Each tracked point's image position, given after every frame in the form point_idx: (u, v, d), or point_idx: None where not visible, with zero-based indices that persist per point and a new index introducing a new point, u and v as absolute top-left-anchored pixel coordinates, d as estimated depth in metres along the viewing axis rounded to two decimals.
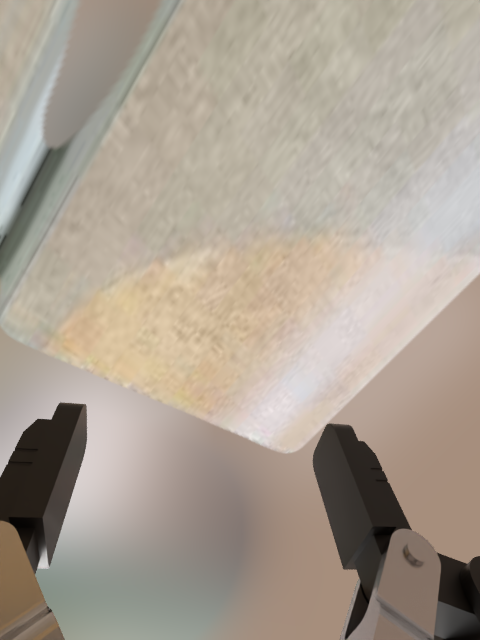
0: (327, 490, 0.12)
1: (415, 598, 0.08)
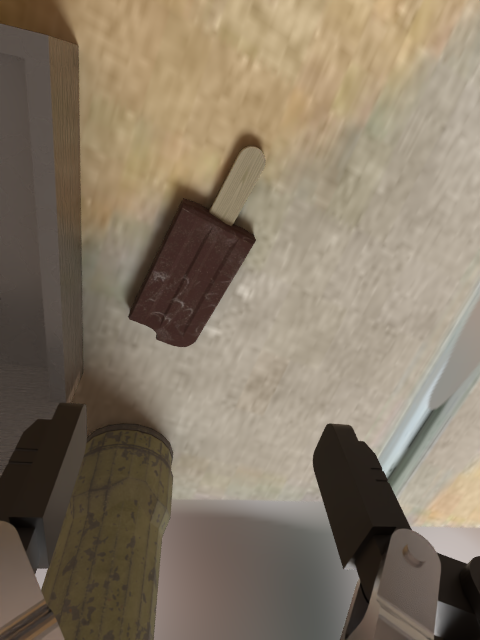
0: (327, 490, 0.12)
1: (415, 598, 0.08)
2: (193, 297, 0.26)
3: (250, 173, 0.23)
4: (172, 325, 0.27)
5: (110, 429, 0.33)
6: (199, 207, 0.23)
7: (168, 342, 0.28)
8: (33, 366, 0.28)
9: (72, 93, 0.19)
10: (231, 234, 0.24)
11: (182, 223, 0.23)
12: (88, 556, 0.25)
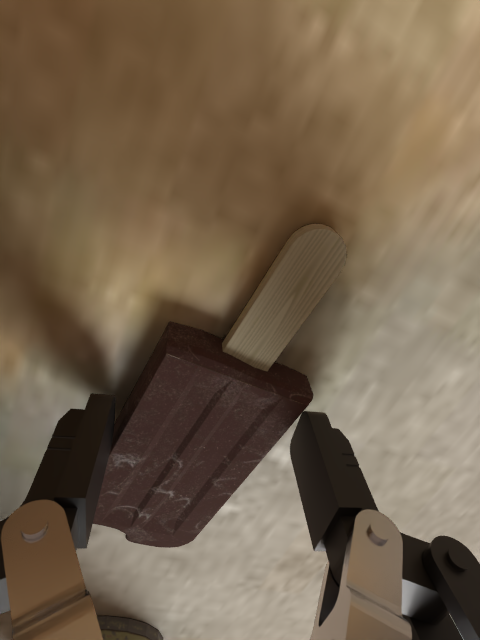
0: (301, 476, 0.12)
1: (381, 577, 0.08)
2: (191, 483, 0.14)
3: (311, 279, 0.11)
4: (153, 521, 0.15)
5: None
6: (202, 343, 0.11)
7: (147, 543, 0.16)
8: None
9: None
10: (267, 391, 0.12)
11: (167, 378, 0.11)
12: None
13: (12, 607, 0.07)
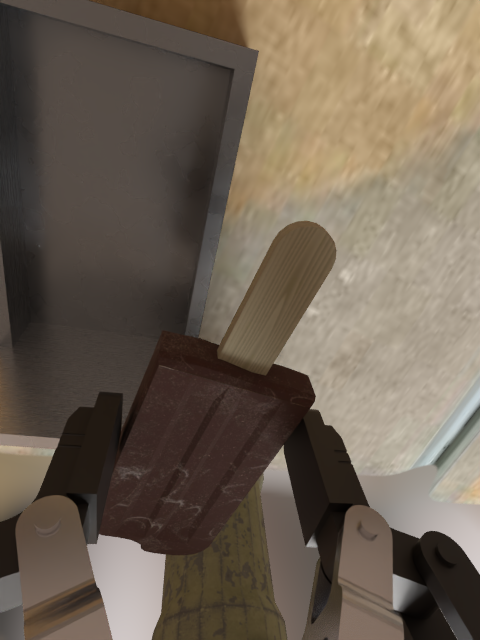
0: (294, 472, 0.12)
1: (373, 572, 0.08)
2: (200, 491, 0.14)
3: (301, 279, 0.10)
4: (167, 530, 0.15)
5: None
6: (196, 351, 0.11)
7: (163, 552, 0.16)
8: (154, 337, 0.32)
9: None
10: (266, 395, 0.12)
11: (162, 389, 0.11)
12: None
13: (24, 599, 0.07)
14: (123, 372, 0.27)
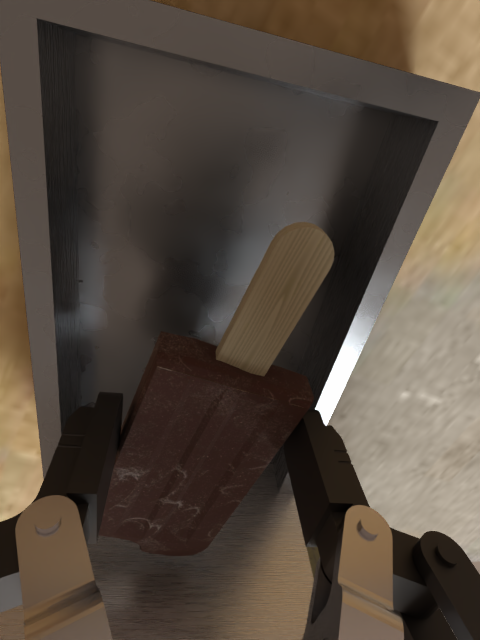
0: (294, 472, 0.12)
1: (373, 572, 0.08)
2: (198, 492, 0.14)
3: (299, 280, 0.10)
4: (165, 531, 0.15)
5: None
6: (194, 353, 0.11)
7: (161, 553, 0.16)
8: None
9: None
10: (264, 397, 0.12)
11: (161, 390, 0.11)
12: None
13: (25, 599, 0.07)
14: None
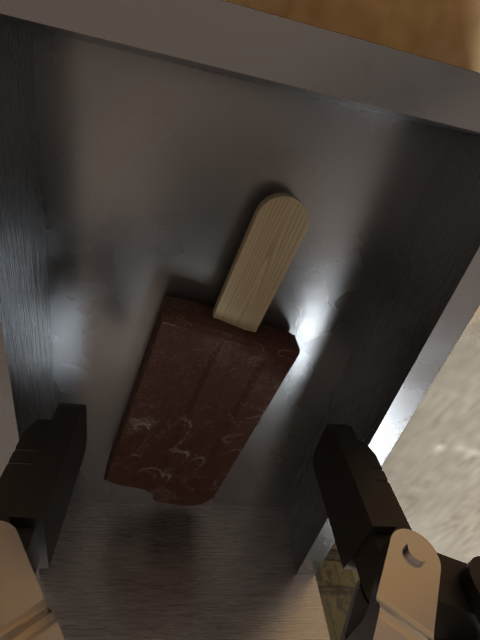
0: (327, 490, 0.12)
1: (415, 598, 0.08)
2: (203, 442, 0.16)
3: (281, 243, 0.12)
4: (175, 480, 0.17)
5: None
6: (194, 311, 0.13)
7: (173, 502, 0.18)
8: (244, 507, 0.21)
9: None
10: (256, 349, 0.13)
11: (166, 344, 0.13)
12: None
13: None
14: (219, 604, 0.17)
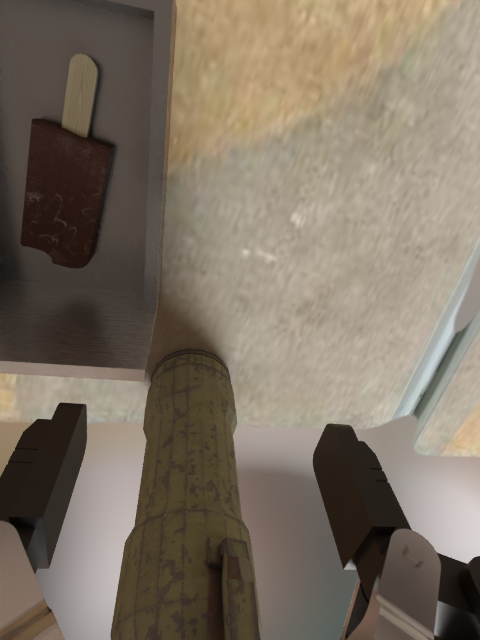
0: (327, 490, 0.12)
1: (415, 598, 0.08)
2: (72, 215, 0.28)
3: (85, 80, 0.25)
4: (62, 246, 0.30)
5: (179, 354, 0.39)
6: (50, 123, 0.26)
7: (63, 264, 0.30)
8: (121, 290, 0.34)
9: (173, 45, 0.25)
10: (85, 144, 0.26)
11: (36, 139, 0.26)
12: (182, 434, 0.30)
13: None
14: (89, 315, 0.29)
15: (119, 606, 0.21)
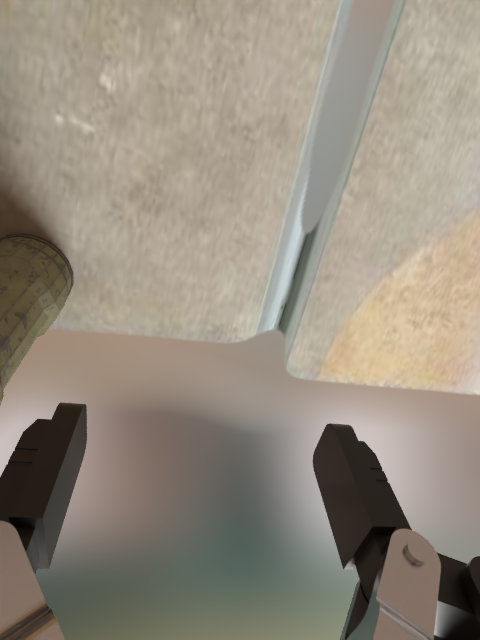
0: (327, 490, 0.12)
1: (415, 598, 0.08)
2: None
3: None
4: None
5: (9, 236, 0.37)
6: None
7: None
8: None
9: None
10: None
11: None
12: None
13: None
14: None
15: None
